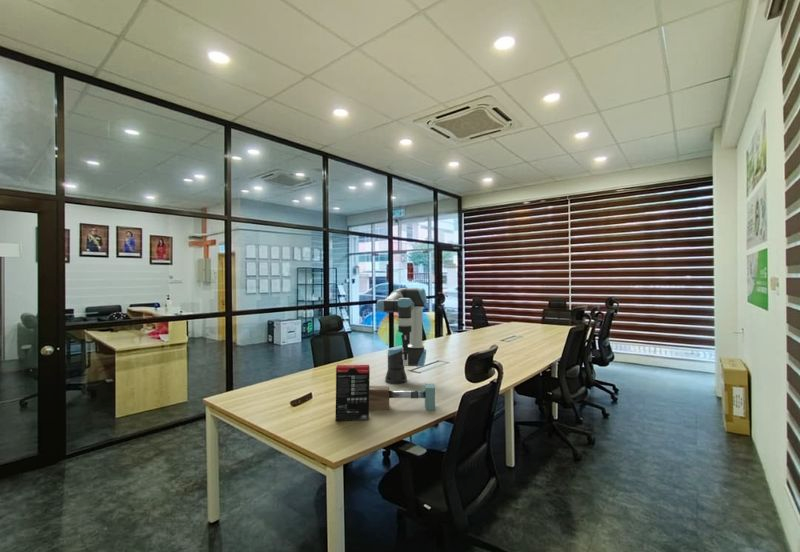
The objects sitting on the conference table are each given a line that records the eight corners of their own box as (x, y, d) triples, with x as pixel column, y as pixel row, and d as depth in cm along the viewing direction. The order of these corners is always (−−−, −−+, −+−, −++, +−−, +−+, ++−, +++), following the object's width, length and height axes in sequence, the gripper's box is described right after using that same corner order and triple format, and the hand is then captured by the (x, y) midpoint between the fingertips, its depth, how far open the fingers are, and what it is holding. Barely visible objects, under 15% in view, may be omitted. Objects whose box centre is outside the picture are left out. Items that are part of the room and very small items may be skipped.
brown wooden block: (368, 405, 205) (368, 385, 205) (389, 405, 205) (389, 385, 205) (366, 409, 198) (366, 389, 198) (388, 409, 198) (388, 389, 198)
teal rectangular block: (424, 404, 205) (424, 383, 205) (433, 404, 205) (433, 383, 205) (425, 410, 197) (425, 387, 197) (435, 410, 197) (434, 387, 197)
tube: (385, 399, 199) (385, 391, 199) (385, 396, 203) (385, 389, 203) (432, 399, 199) (432, 391, 199) (432, 396, 203) (432, 389, 203)
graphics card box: (369, 415, 190) (369, 363, 190) (369, 420, 183) (369, 366, 183) (336, 416, 188) (336, 364, 188) (335, 422, 181) (335, 367, 181)
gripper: (397, 321, 219) (398, 356, 220) (398, 329, 194) (398, 368, 195) (410, 321, 220) (410, 356, 220) (412, 328, 195) (412, 368, 195)
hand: (405, 362), depth 208 cm, fingers open, 13 cm apart
